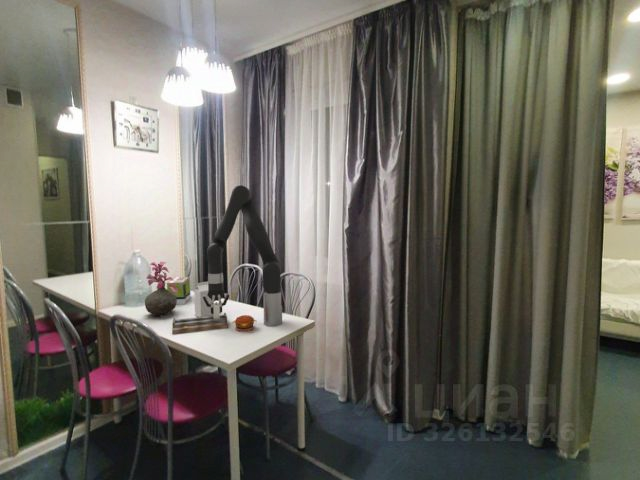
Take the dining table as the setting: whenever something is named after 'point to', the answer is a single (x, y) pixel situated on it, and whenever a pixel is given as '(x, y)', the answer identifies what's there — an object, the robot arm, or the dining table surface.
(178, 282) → the tea box
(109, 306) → the dining table surface
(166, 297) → the vase
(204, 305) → the milk carton
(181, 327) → the fader console
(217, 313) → the fader tab
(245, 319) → the hamburger
